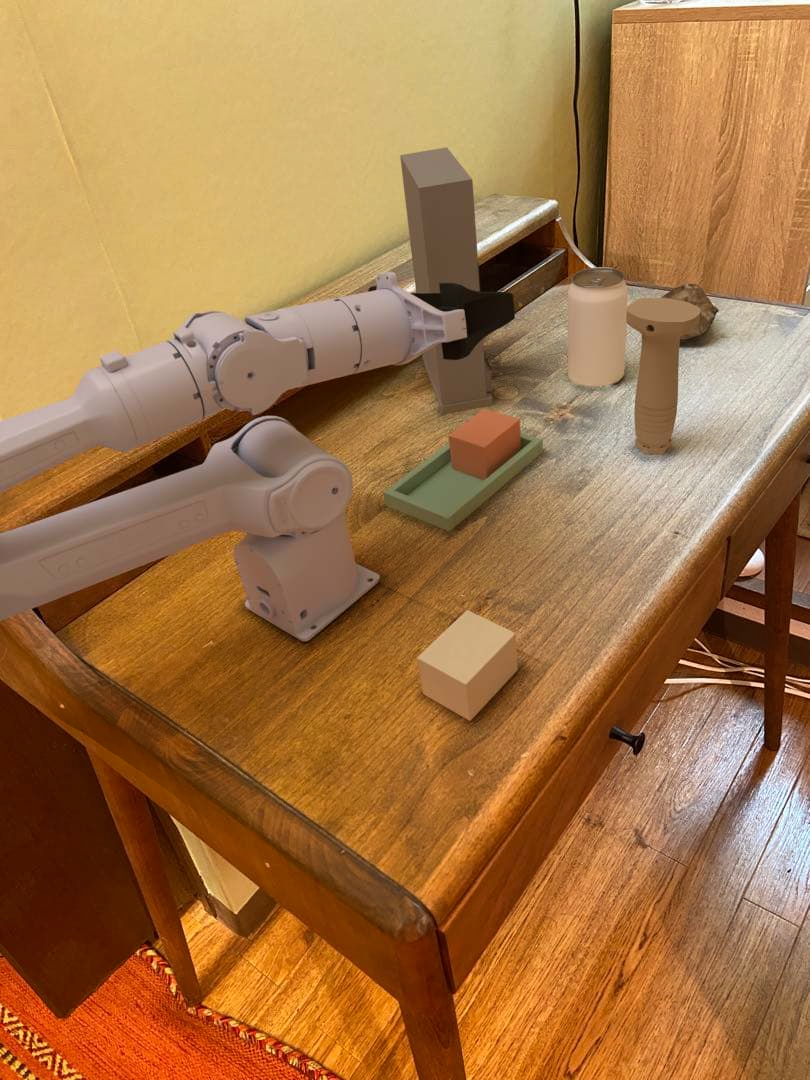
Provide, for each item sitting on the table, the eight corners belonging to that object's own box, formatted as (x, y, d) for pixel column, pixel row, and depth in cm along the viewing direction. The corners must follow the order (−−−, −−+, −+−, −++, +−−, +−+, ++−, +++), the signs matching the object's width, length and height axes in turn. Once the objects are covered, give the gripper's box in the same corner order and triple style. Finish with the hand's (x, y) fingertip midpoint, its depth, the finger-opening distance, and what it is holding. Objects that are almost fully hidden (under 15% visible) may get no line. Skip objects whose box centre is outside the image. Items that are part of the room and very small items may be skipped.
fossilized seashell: (734, 324, 97) (706, 305, 106) (707, 279, 95) (680, 263, 103) (678, 363, 99) (655, 341, 108) (650, 320, 97) (629, 301, 106)
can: (632, 368, 97) (637, 268, 90) (611, 393, 93) (615, 291, 86) (580, 360, 100) (581, 263, 93) (558, 384, 96) (557, 285, 89)
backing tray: (449, 535, 76) (447, 518, 75) (385, 508, 81) (382, 491, 80) (543, 455, 85) (542, 439, 84) (480, 435, 89) (479, 419, 88)
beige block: (470, 721, 59) (465, 684, 57) (422, 694, 62) (416, 657, 59) (518, 670, 62) (515, 632, 60) (470, 646, 65) (466, 609, 62)
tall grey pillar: (495, 408, 94) (481, 178, 78) (442, 417, 93) (418, 188, 78) (470, 356, 104) (454, 145, 89) (423, 365, 104) (398, 154, 89)
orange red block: (487, 481, 82) (484, 447, 79) (451, 468, 84) (448, 435, 82) (521, 452, 85) (520, 419, 82) (486, 441, 87) (483, 408, 85)
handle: (671, 470, 80) (685, 326, 71) (612, 453, 84) (617, 314, 74) (693, 447, 83) (709, 305, 73) (634, 431, 86) (642, 294, 77)
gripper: (385, 279, 55) (536, 251, 61) (288, 284, 66) (424, 260, 73) (400, 384, 57) (543, 346, 64) (304, 371, 69) (433, 340, 75)
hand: (480, 306), depth 69 cm, fingers open, 7 cm apart
